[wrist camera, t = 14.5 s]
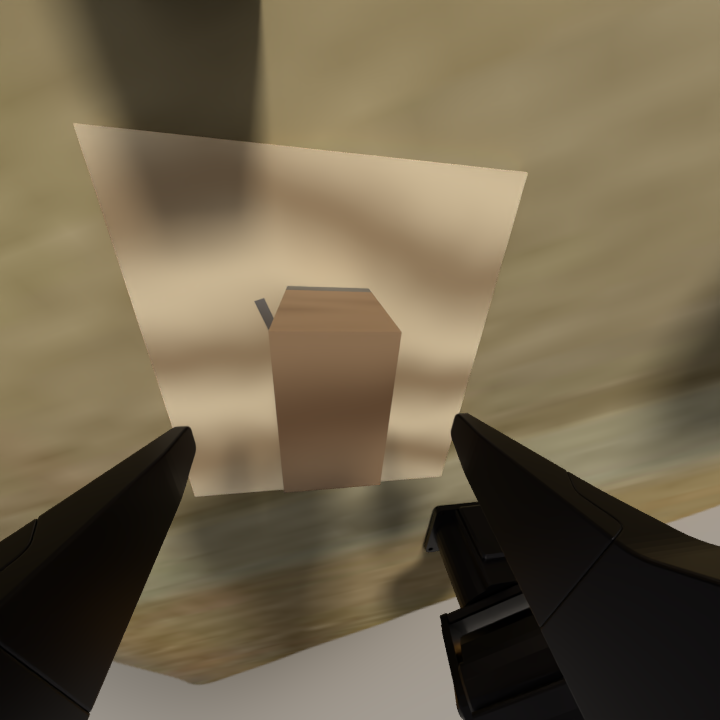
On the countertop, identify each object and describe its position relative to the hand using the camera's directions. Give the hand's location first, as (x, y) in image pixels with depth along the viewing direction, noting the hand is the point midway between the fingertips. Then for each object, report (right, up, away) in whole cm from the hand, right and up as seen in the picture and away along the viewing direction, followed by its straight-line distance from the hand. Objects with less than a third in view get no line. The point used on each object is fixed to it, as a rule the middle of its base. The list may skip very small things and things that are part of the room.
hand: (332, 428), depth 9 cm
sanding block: (-1, +3, +6) cm, 6 cm away
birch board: (-1, +2, +7) cm, 7 cm away
